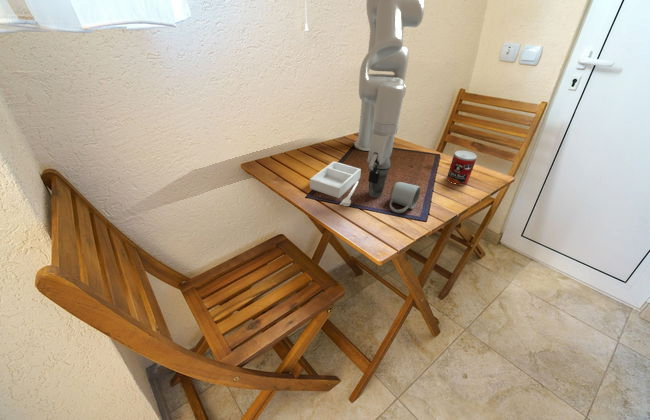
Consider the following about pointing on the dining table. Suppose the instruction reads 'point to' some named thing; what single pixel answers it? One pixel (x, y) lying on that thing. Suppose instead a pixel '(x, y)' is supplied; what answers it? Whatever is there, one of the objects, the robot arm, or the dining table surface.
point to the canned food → (461, 167)
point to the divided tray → (335, 179)
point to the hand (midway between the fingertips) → (377, 177)
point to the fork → (347, 199)
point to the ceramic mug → (404, 196)
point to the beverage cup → (377, 189)
